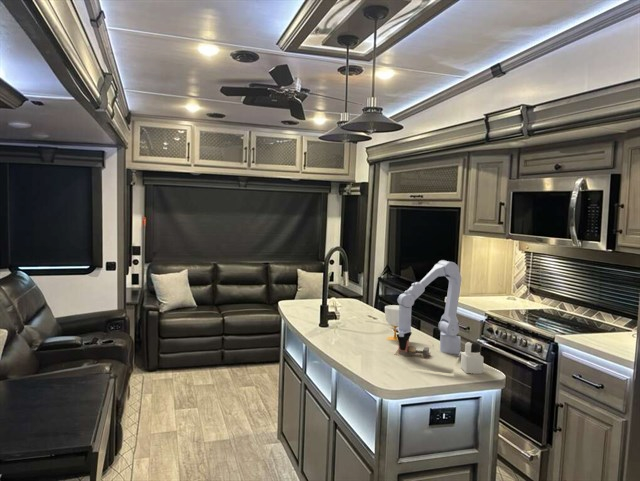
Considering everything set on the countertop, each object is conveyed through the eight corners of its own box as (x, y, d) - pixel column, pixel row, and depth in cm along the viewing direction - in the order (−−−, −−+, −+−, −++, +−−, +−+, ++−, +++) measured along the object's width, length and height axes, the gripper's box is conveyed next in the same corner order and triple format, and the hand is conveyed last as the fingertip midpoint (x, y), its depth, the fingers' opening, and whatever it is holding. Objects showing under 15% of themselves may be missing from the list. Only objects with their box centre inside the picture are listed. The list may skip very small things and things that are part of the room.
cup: (406, 343, 239) (407, 310, 239) (382, 341, 242) (384, 308, 241) (406, 337, 251) (407, 305, 250) (384, 335, 253) (385, 304, 252)
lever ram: (408, 351, 220) (409, 339, 220) (406, 353, 216) (407, 342, 216) (400, 350, 221) (400, 338, 221) (398, 352, 217) (398, 341, 217)
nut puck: (416, 353, 218) (416, 346, 218) (415, 355, 215) (415, 348, 215) (408, 352, 220) (408, 345, 220) (407, 354, 216) (407, 347, 216)
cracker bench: (430, 355, 220) (431, 346, 220) (427, 361, 210) (427, 352, 209) (398, 351, 225) (399, 342, 225) (393, 357, 215) (394, 348, 215)
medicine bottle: (476, 368, 202) (478, 340, 202) (483, 374, 195) (484, 345, 195) (460, 368, 202) (461, 340, 201) (466, 373, 195) (467, 345, 194)
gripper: (399, 315, 226) (398, 343, 227) (392, 321, 213) (391, 351, 213) (414, 317, 224) (412, 345, 224) (408, 323, 210) (407, 353, 211)
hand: (403, 348), depth 219 cm, fingers closed on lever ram, 4 cm apart
